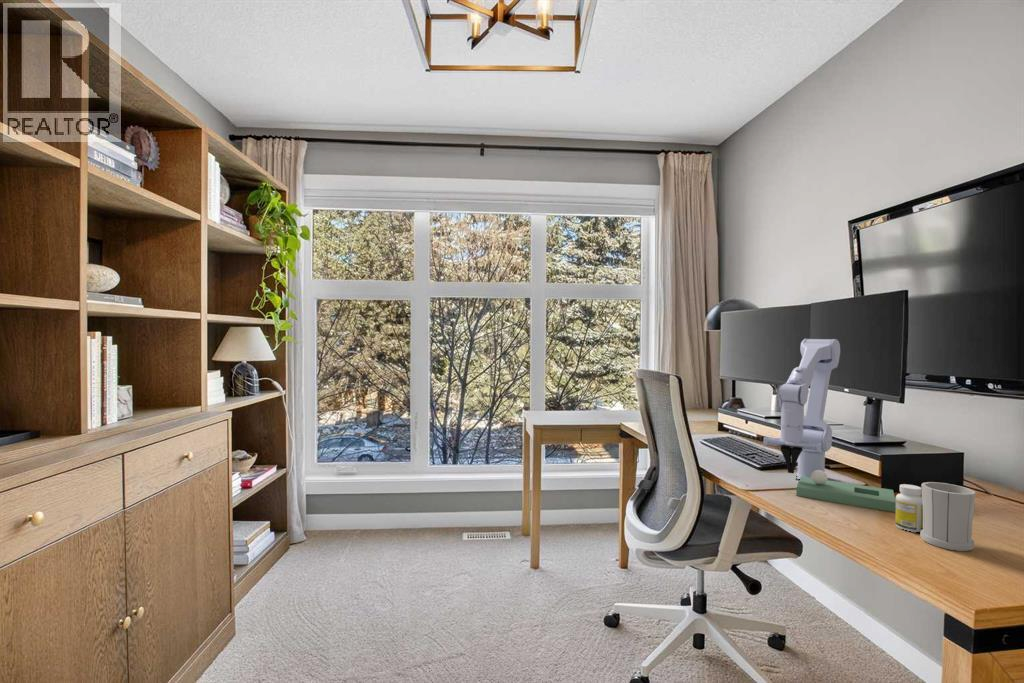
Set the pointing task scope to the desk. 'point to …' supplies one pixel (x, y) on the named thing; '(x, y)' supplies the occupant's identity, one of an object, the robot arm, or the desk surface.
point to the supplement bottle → (909, 508)
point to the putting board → (847, 494)
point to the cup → (948, 515)
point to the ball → (819, 477)
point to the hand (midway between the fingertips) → (790, 472)
